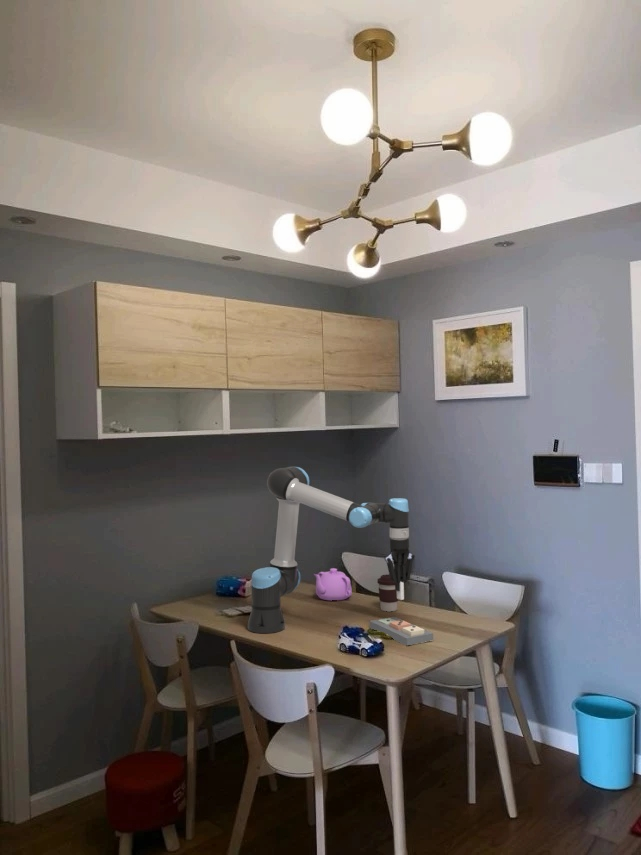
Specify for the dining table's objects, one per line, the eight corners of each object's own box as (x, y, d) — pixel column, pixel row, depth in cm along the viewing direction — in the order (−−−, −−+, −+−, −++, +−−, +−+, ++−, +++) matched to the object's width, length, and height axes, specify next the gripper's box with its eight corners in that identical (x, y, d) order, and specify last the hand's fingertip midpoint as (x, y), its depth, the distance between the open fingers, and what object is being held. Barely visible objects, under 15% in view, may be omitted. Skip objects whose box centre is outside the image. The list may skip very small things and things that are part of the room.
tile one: (386, 631, 270) (386, 623, 270) (377, 627, 275) (377, 619, 275) (398, 629, 272) (398, 620, 272) (390, 625, 278) (390, 617, 278)
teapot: (297, 599, 322) (297, 570, 322) (329, 590, 338) (329, 563, 338) (331, 607, 307) (331, 576, 307) (363, 598, 323) (362, 569, 322)
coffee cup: (404, 611, 300) (404, 576, 300) (385, 614, 295) (384, 579, 295) (392, 605, 309) (392, 572, 308) (373, 608, 304) (373, 574, 304)
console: (407, 646, 252) (406, 638, 252) (369, 628, 275) (369, 620, 275) (433, 641, 257) (433, 633, 257) (394, 623, 280) (394, 616, 280)
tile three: (398, 633, 262) (398, 625, 262) (389, 629, 267) (389, 621, 267) (411, 631, 265) (411, 623, 265) (402, 627, 270) (402, 619, 270)
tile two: (411, 639, 255) (411, 631, 255) (402, 635, 260) (402, 627, 260) (424, 637, 257) (424, 628, 257) (414, 633, 263) (414, 624, 263)
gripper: (390, 541, 260) (391, 603, 260) (418, 538, 266) (419, 598, 266) (380, 538, 266) (381, 599, 266) (407, 535, 273) (408, 594, 273)
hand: (400, 598), depth 266 cm, fingers closed
